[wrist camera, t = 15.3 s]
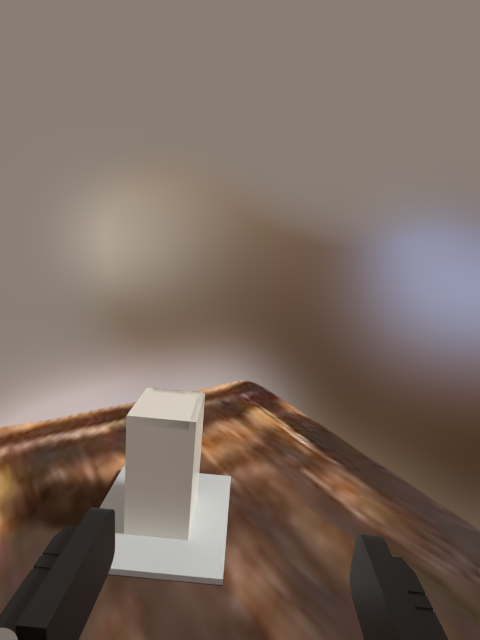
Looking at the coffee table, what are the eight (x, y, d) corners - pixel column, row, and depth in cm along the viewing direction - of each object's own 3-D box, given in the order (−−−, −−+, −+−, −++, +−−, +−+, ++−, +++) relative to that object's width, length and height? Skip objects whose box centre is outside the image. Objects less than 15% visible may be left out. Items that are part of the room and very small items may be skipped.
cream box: (143, 489, 37) (147, 387, 35) (197, 494, 37) (205, 393, 35) (123, 534, 31) (126, 415, 29) (188, 540, 31) (196, 422, 29)
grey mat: (123, 470, 41) (123, 466, 41) (230, 480, 41) (230, 476, 41) (66, 570, 28) (66, 564, 28) (222, 585, 28) (222, 579, 28)
